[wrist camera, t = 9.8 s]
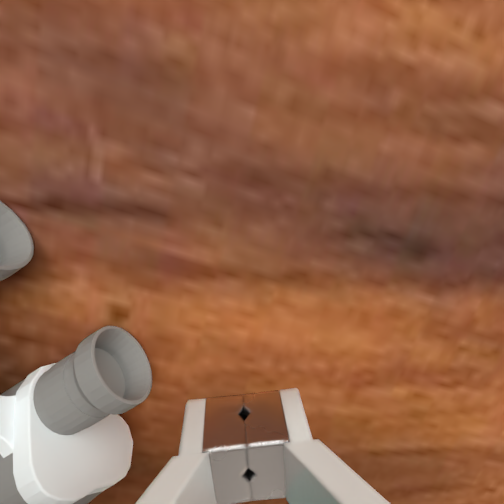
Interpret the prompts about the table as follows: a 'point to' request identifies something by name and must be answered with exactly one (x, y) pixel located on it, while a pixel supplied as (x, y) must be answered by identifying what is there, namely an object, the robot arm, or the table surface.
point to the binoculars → (67, 407)
